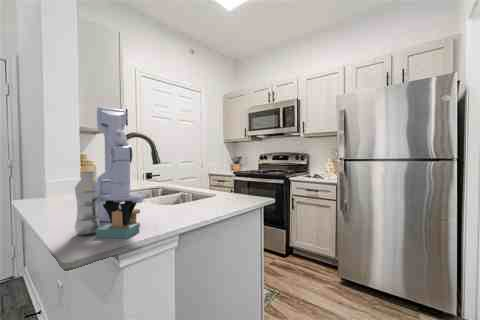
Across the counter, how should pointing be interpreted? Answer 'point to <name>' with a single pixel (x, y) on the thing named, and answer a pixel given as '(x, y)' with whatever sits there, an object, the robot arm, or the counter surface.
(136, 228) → the notch board
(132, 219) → the bobbin
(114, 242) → the counter surface
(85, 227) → the plastic bottle
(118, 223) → the plug
